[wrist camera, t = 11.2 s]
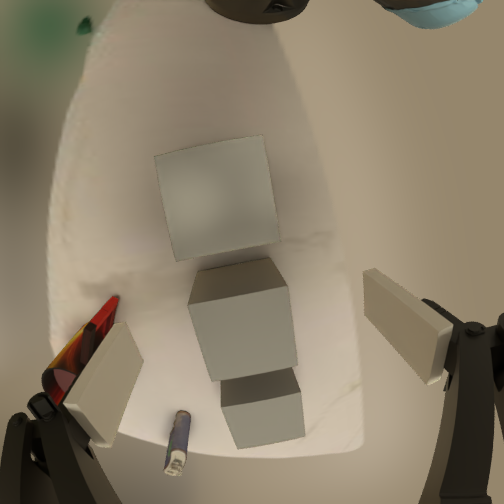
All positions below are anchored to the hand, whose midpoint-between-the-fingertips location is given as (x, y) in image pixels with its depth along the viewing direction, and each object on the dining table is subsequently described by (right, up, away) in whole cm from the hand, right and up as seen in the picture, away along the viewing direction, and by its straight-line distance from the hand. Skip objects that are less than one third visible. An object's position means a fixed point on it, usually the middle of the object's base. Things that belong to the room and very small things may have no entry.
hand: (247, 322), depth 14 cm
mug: (-22, -9, +21) cm, 31 cm away
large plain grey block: (+1, -15, +24) cm, 28 cm away
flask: (-12, -26, +26) cm, 39 cm away
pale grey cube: (-3, +10, +18) cm, 21 cm away
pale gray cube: (-1, -2, +21) cm, 21 cm away
